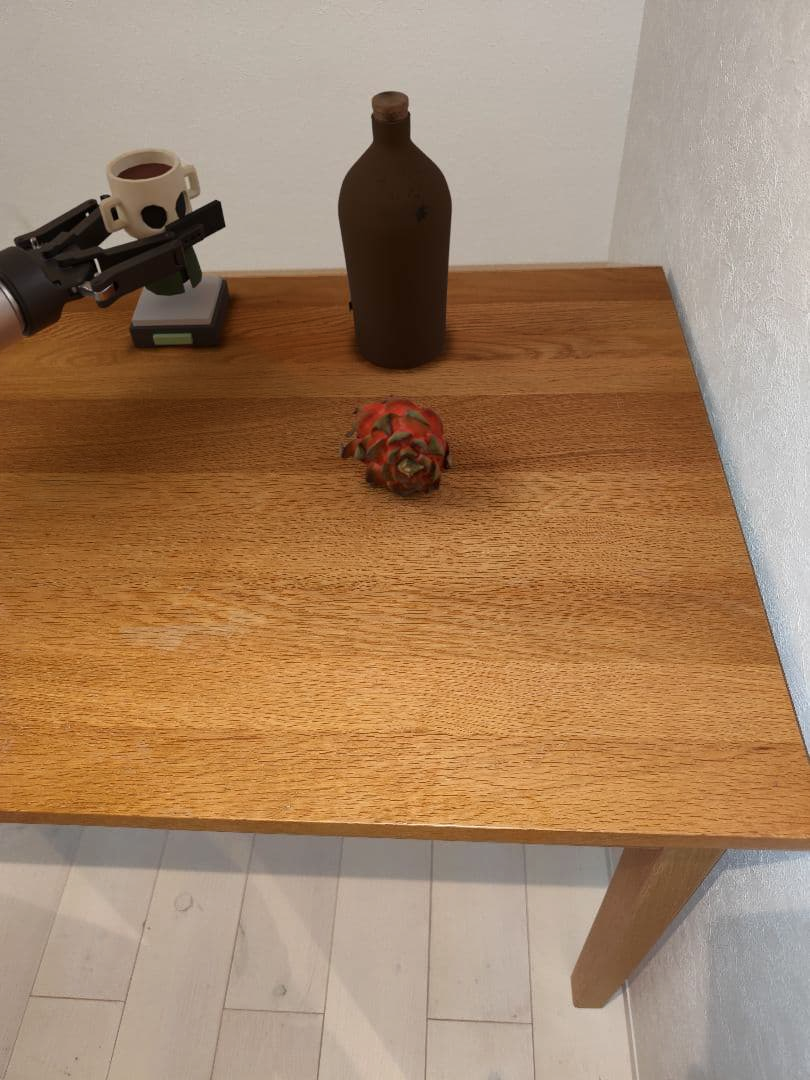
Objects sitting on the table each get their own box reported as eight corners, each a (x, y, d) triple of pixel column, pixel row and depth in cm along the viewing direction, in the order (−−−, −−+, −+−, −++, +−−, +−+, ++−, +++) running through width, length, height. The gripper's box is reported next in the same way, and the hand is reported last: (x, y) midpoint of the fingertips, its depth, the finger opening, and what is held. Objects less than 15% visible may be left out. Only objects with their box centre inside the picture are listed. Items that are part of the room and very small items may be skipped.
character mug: (148, 319, 90) (112, 197, 81) (111, 292, 94) (73, 172, 84) (235, 276, 95) (211, 156, 86) (197, 252, 99) (170, 134, 89)
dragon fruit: (433, 534, 78) (364, 471, 86) (493, 457, 77) (419, 401, 85) (373, 496, 72) (306, 432, 80) (438, 412, 71) (363, 356, 79)
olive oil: (468, 329, 95) (474, 85, 77) (420, 385, 89) (413, 135, 71) (383, 303, 99) (368, 65, 80) (331, 355, 93) (303, 110, 75)
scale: (133, 350, 95) (125, 325, 93) (151, 299, 101) (144, 274, 99) (217, 349, 95) (211, 323, 92) (230, 298, 101) (225, 272, 99)
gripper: (-41, 299, 88) (144, 207, 99) (79, 378, 79) (268, 266, 90) (-74, 229, 82) (125, 139, 94) (50, 304, 73) (256, 195, 84)
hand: (195, 201), depth 92 cm, fingers closed on character mug, 7 cm apart
